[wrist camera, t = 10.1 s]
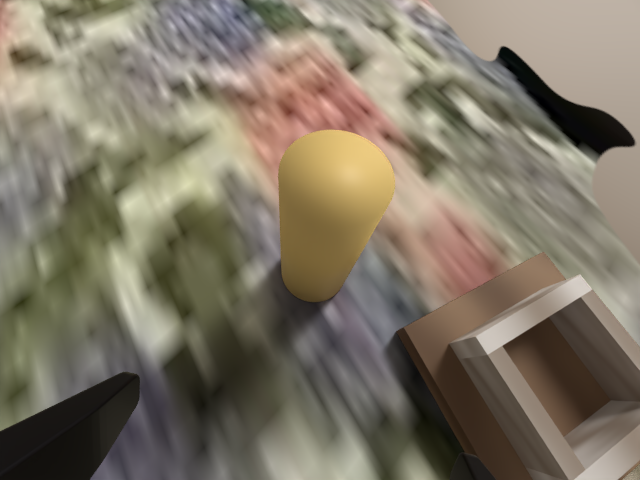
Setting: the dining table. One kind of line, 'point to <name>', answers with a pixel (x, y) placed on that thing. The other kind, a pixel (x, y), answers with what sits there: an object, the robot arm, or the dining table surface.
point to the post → (329, 208)
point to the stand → (534, 376)
